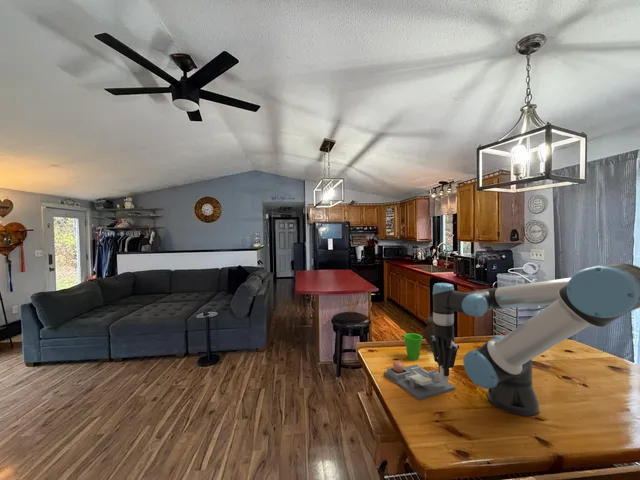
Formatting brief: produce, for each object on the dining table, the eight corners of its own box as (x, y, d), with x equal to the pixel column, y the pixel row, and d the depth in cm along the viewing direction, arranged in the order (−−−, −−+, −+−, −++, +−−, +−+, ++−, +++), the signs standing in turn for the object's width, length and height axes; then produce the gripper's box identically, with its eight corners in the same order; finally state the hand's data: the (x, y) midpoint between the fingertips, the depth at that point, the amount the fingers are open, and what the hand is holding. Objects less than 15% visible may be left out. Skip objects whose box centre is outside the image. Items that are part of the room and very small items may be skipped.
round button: (406, 372, 121) (405, 364, 121) (397, 374, 119) (397, 366, 119) (399, 368, 125) (399, 360, 125) (391, 369, 123) (391, 362, 123)
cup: (419, 363, 135) (419, 340, 135) (401, 359, 140) (400, 337, 140) (425, 357, 142) (425, 335, 142) (407, 353, 148) (407, 332, 148)
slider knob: (439, 381, 116) (439, 371, 116) (434, 383, 115) (433, 373, 115) (434, 378, 119) (434, 368, 119) (428, 379, 117) (428, 370, 117)
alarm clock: (456, 352, 147) (455, 314, 147) (448, 356, 142) (448, 316, 142) (430, 344, 158) (430, 309, 158) (423, 348, 154) (422, 311, 154)
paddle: (432, 382, 110) (432, 379, 110) (422, 385, 108) (422, 382, 108) (415, 375, 119) (414, 372, 119) (405, 378, 117) (405, 374, 117)
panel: (455, 389, 112) (455, 378, 112) (419, 400, 105) (418, 388, 105) (416, 366, 132) (416, 357, 132) (384, 374, 125) (383, 364, 125)
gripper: (464, 326, 107) (465, 388, 107) (438, 317, 119) (438, 373, 119) (449, 329, 104) (450, 393, 104) (423, 319, 116) (424, 377, 116)
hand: (444, 382), depth 112 cm, fingers closed
